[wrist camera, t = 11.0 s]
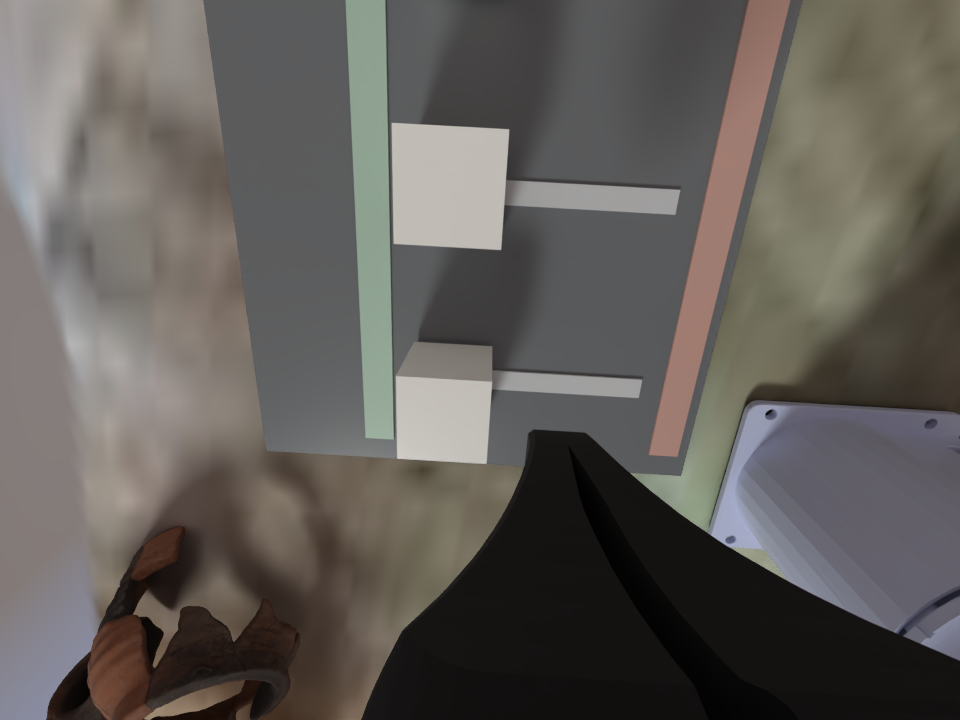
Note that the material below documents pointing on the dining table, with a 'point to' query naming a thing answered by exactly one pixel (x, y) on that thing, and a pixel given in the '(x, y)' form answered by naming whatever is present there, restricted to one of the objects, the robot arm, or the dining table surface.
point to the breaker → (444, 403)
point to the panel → (527, 207)
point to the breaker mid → (448, 185)
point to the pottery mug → (174, 656)
